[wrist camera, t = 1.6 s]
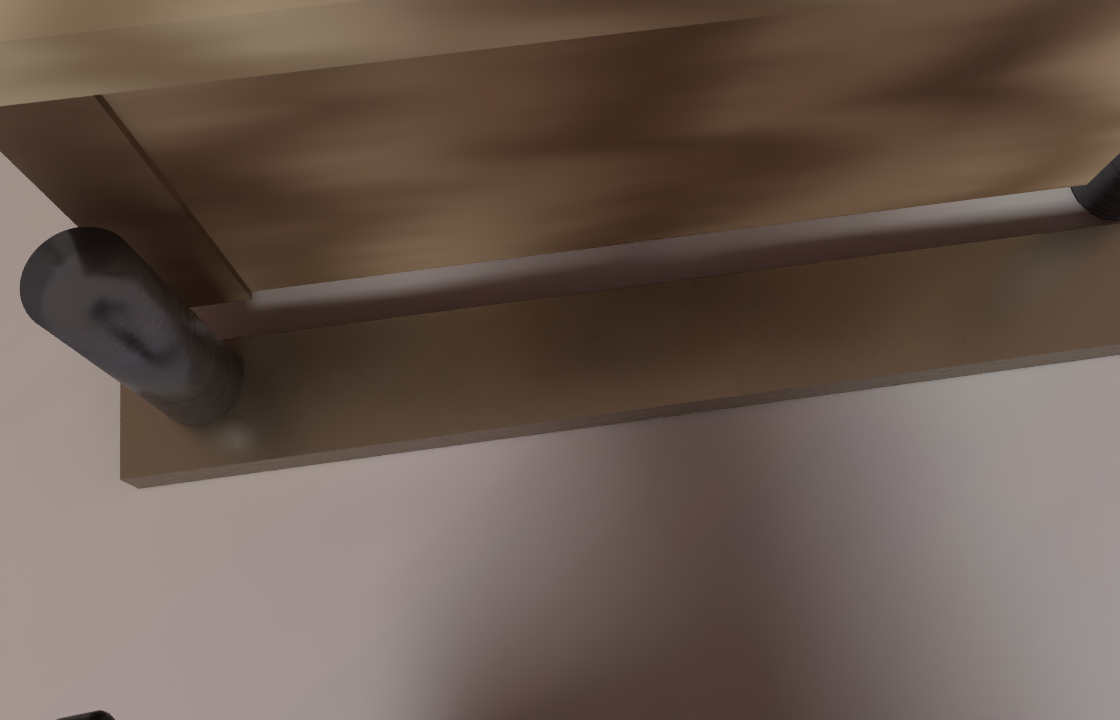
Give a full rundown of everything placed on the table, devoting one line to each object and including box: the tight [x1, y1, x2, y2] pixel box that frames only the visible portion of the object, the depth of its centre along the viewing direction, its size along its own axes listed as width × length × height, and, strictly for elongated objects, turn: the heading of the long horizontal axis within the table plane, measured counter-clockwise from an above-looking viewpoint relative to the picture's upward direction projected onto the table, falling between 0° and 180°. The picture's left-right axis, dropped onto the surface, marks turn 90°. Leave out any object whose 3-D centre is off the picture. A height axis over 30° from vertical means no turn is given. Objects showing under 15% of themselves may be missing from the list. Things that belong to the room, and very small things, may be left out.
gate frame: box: [20, 153, 1120, 489], centre depth 19 cm, size 26×6×12 cm, turn 98°
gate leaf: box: [0, 0, 1120, 307], centre depth 19 cm, size 22×2×10 cm, turn 98°
